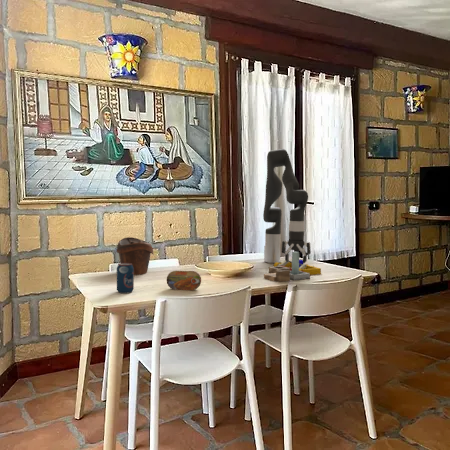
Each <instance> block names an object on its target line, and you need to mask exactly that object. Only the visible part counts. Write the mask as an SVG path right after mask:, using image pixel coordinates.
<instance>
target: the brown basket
mask: <svg viewBox="0 0 450 450" xmlns="http://www.w3.org/2000/svg"><path fill="white" fill-rule="evenodd" d="M116 253H117V254H118V257H119V261H120V262H119V263H132V266H133V268H134V276H135V275H136V276H137V275H145V274H147V273H148V271H149V266H150V265H149V264H150V260H151V255H153V256H154V249H153V246H152V244H151V243H149V242H147V241H145V240H143V239H140V238H136V237H130V236H129V237H127V236H126V237H124V238H121V239H120V240H119V241H118V243H117V246H116Z"/></svg>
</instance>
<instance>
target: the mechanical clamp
mask: <svg viewBox="0 0 450 450" xmlns="http://www.w3.org/2000/svg"><path fill="white" fill-rule="evenodd" d="M276 266H283V267H287V268H290V271H292V260H289V262H286V261H285V260H284V261H283V262H279V263H278V262H276V263H273V267H276ZM299 271H302V272H306V273H310V276H311V275H312V276H313V275H321V273H322V268H320V267H317V266H314V265H309V264H307V263H306V264H305V263H303V259H299Z"/></svg>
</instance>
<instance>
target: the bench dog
mask: <svg viewBox="0 0 450 450" xmlns="http://www.w3.org/2000/svg"><path fill="white" fill-rule="evenodd" d="M290 281H291V279H290V271H289V270H278V271H276V281H275V282H278V283H284V282H290Z"/></svg>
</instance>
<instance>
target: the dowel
mask: <svg viewBox="0 0 450 450" xmlns="http://www.w3.org/2000/svg"><path fill="white" fill-rule="evenodd" d="M299 260H300V252H299V251H292V252H291V261H292V267H291V268H292V274H294V275H295V274H299Z"/></svg>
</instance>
